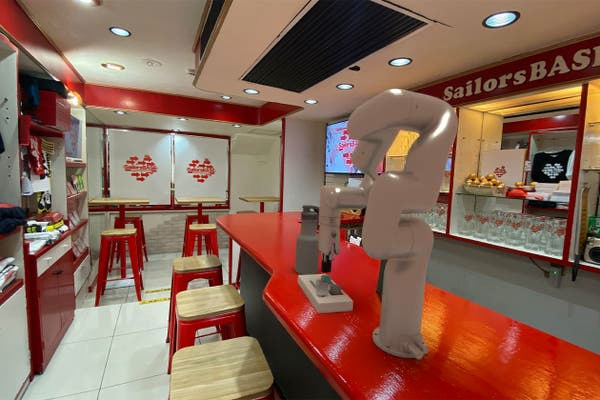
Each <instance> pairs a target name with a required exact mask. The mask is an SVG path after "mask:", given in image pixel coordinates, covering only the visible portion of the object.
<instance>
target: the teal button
mask: <svg viewBox="0 0 600 400" xmlns="http://www.w3.org/2000/svg"><path fill="white" fill-rule="evenodd" d="M321 279H325V280H326V281H327V282H328V284H331V280H332V276H331V275H328V274H326V275H322V276H321Z"/></svg>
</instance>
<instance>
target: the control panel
mask: <svg viewBox="0 0 600 400" xmlns="http://www.w3.org/2000/svg"><path fill="white" fill-rule="evenodd" d="M322 275H327V273H321V274H319V273H316V274H313V275H302V274H298V276H297V284H298V285H299V287H300V289H301V290H302V292H303V293H304V295H305V296H306V297H307V299H308V300H309V302H310V303H311V304H312V306H313V307H314V310H315V311H316V312H317V314H326V313H328V314H329V313H337V312H350V311H351V312H352V311H353V307H354V306H353V305H354V300H352V298H351V297H350V296H349V295H348V294H347V293H346V292H344V290H343V289H341V295H333V296H331V295H330V285H332V284H336V282H334V280H332V279H331V284H328V295H322V296H318V294H317V293H316V280H321V276H322Z"/></svg>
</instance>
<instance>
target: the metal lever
mask: <svg viewBox="0 0 600 400" xmlns="http://www.w3.org/2000/svg"><path fill="white" fill-rule="evenodd" d="M316 293H317V294H318V296H322V295H328V282H327V281H326V280H325V279H321V280H316Z"/></svg>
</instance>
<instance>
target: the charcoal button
mask: <svg viewBox="0 0 600 400" xmlns="http://www.w3.org/2000/svg"><path fill="white" fill-rule="evenodd" d="M341 290H342V285H340V284H337V283H335V284H332V285H330V295H331V296H333V295H341Z"/></svg>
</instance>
